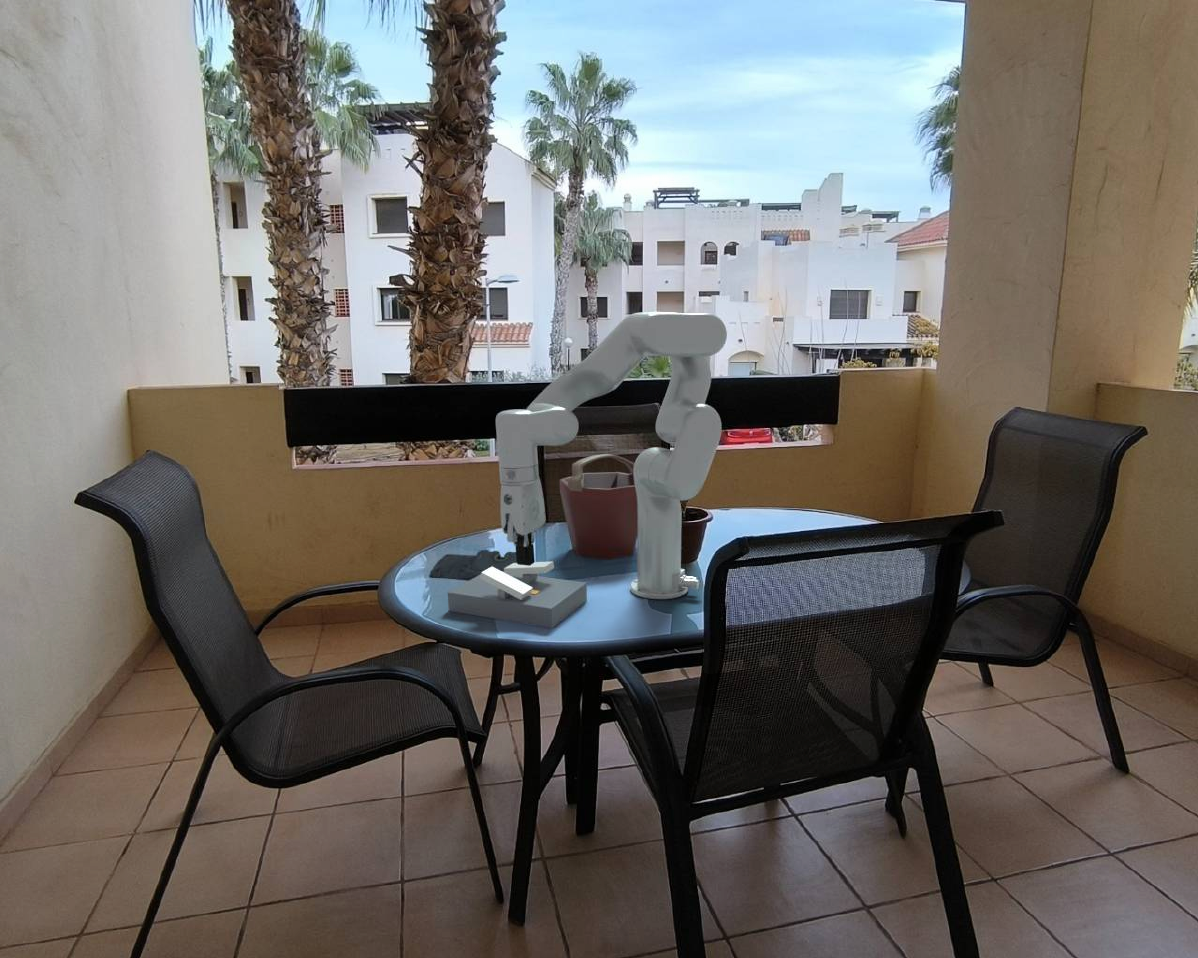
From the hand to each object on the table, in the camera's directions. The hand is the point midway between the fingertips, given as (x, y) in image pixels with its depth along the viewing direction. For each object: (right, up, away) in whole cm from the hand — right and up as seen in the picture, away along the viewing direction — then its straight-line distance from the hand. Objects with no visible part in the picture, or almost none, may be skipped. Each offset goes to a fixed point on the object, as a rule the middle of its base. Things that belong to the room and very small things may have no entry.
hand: (525, 563), depth 149 cm
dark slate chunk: (-14, -6, +31) cm, 35 cm away
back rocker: (0, -3, +11) cm, 11 cm away
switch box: (-2, -10, +8) cm, 13 cm away
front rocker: (-4, -5, +2) cm, 7 cm away
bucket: (+16, -2, +47) cm, 50 cm away
